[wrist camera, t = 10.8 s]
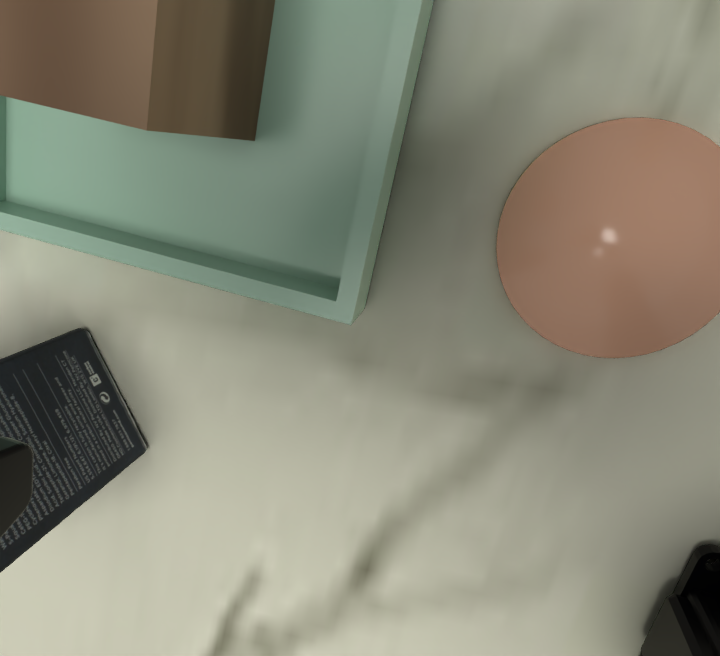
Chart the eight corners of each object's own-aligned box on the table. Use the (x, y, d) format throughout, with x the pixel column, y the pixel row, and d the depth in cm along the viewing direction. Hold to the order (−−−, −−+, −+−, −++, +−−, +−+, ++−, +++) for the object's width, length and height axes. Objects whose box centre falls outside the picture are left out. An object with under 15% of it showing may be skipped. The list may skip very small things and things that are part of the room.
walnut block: (281, -41, 16) (170, -153, 10) (254, 141, 17) (146, 130, 12) (123, -71, 16) (-64, -192, 11) (111, 107, 18) (-56, 81, 12)
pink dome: (782, 144, 15) (798, 142, 15) (691, 372, 18) (700, 381, 17) (529, 100, 16) (532, 97, 16) (472, 322, 19) (472, 328, 18)
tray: (478, -199, 14) (478, -257, 12) (364, 307, 19) (351, 325, 17) (5, -264, 16) (-60, -324, 14) (5, 212, 21) (-46, 217, 19)
